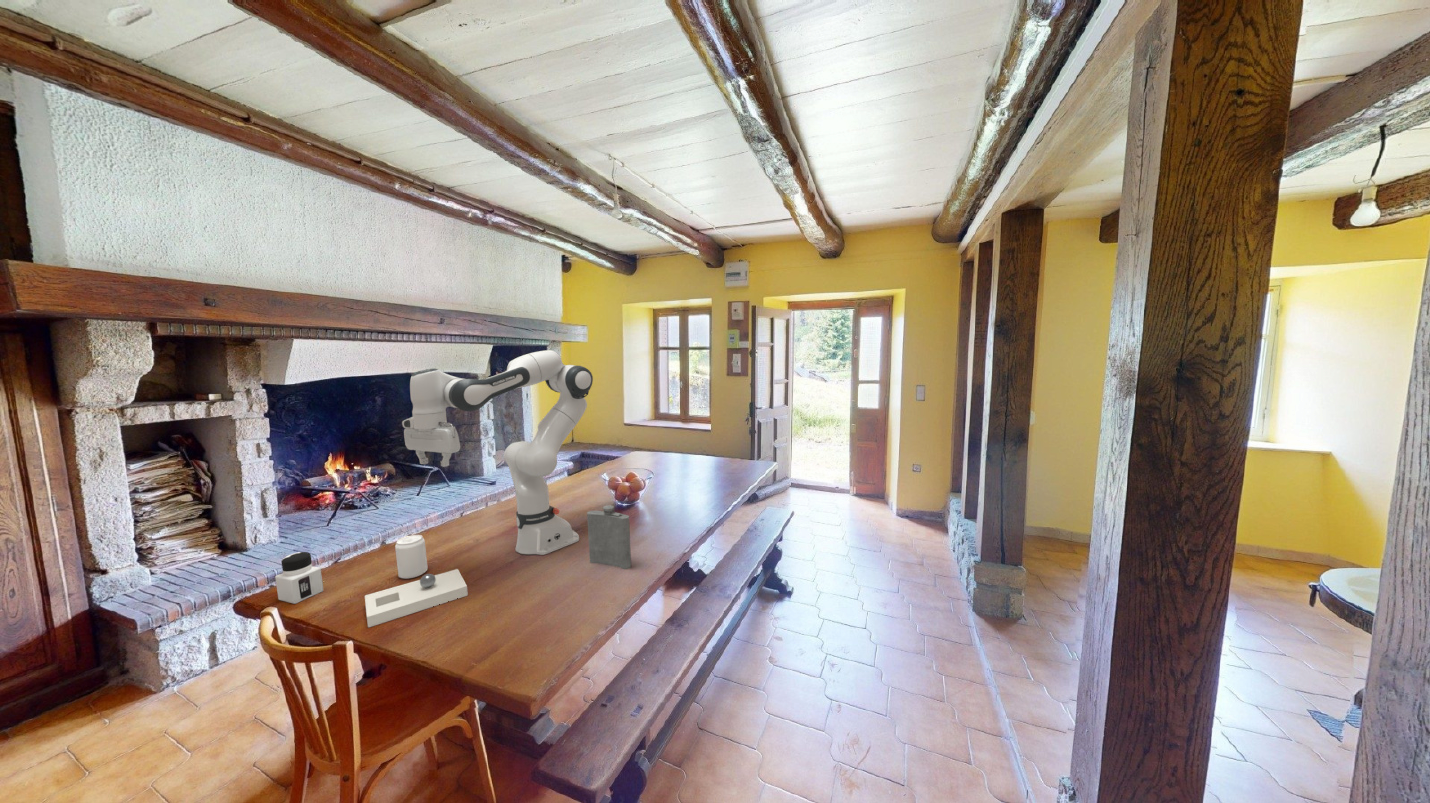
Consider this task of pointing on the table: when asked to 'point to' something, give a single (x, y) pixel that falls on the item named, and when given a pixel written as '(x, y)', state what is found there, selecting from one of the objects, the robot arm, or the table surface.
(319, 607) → the table surface
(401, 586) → the hole board
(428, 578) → the steel ball
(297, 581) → the container
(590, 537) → the hip flask
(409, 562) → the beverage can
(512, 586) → the table surface
